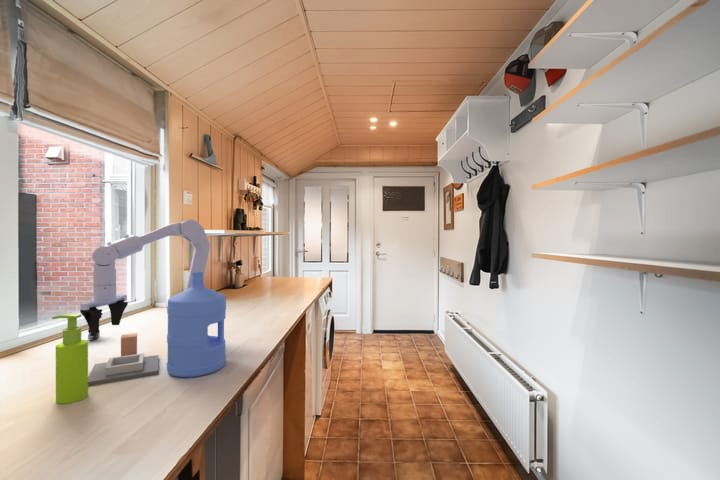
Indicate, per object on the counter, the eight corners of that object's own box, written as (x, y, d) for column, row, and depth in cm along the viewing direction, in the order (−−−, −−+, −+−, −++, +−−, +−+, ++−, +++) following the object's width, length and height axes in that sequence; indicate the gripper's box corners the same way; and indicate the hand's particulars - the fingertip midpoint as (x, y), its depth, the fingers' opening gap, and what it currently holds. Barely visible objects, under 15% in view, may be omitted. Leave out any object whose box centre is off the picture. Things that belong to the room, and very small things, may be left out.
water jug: (164, 382, 90) (164, 277, 90) (169, 362, 104) (169, 271, 104) (227, 373, 97) (228, 274, 96) (223, 355, 111) (224, 269, 110)
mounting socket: (158, 358, 107) (158, 348, 107) (157, 374, 95) (157, 363, 95) (94, 367, 99) (94, 357, 99) (85, 386, 87) (85, 374, 87)
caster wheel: (98, 340, 123) (98, 313, 123) (80, 342, 121) (80, 314, 121) (104, 335, 130) (104, 309, 129) (87, 337, 127) (87, 310, 127)
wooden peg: (137, 354, 110) (137, 332, 110) (136, 358, 107) (136, 336, 107) (122, 356, 108) (122, 334, 108) (120, 360, 105) (120, 338, 105)
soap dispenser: (64, 392, 84) (63, 311, 83) (93, 391, 84) (93, 311, 84) (44, 404, 78) (43, 317, 78) (76, 403, 78) (76, 317, 78)
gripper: (113, 281, 113) (113, 321, 114) (70, 288, 99) (71, 334, 99) (132, 281, 112) (132, 322, 113) (92, 288, 98) (92, 335, 98)
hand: (105, 328), depth 106 cm, fingers open, 7 cm apart
